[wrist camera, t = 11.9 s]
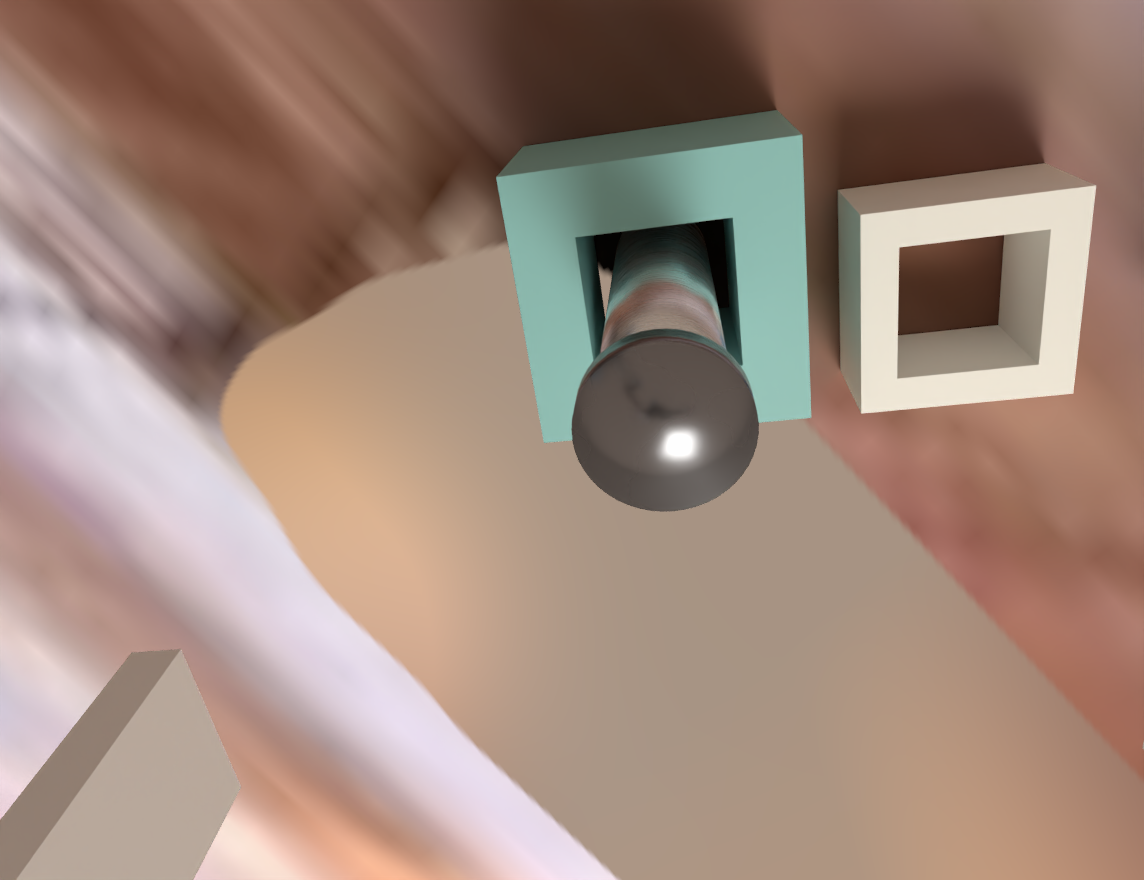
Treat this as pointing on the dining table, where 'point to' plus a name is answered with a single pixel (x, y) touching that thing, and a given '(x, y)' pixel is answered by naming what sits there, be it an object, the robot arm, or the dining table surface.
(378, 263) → the dining table surface
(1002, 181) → the mount
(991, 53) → the dining table surface
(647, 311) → the pin
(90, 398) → the dining table surface
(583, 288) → the socket
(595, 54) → the dining table surface
